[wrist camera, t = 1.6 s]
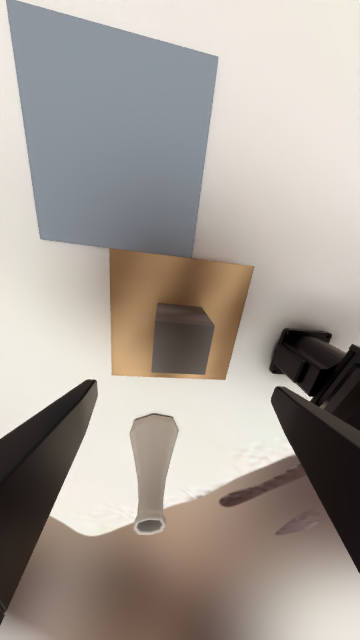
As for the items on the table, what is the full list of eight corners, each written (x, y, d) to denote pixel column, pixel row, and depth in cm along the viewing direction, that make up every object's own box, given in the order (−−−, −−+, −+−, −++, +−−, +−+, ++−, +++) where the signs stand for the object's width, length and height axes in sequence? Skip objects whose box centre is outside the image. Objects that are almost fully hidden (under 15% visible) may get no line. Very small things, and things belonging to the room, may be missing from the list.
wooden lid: (249, 265, 16) (289, 271, 11) (222, 375, 20) (242, 415, 15) (112, 248, 14) (85, 245, 9) (113, 370, 18) (95, 413, 13)
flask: (127, 414, 25) (106, 511, 15) (178, 411, 25) (187, 502, 16) (132, 448, 27) (115, 549, 18) (178, 445, 28) (185, 540, 19)
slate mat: (217, 62, 13) (218, 56, 13) (190, 258, 18) (191, 258, 18) (10, 5, 11) (5, -3, 11) (43, 239, 16) (40, 239, 16)
